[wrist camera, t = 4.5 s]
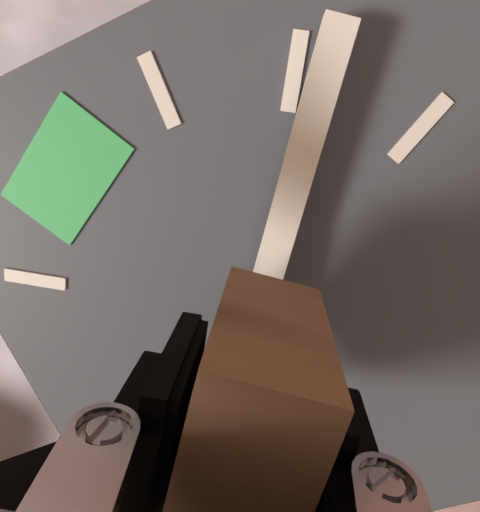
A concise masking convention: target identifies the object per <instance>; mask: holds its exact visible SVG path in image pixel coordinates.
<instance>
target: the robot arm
mask: <svg viewBox="0 0 480 512" xmlns="http://www.w3.org/2000/svg"><path fill="white" fill-rule="evenodd" d="M207 329H208V321H205V320H202V315H200V314H195V313H189V312H182V314H181V316H180V318H179V320H178V322H177V324H176V326H175V328H174V330H173V332H172V334H171V336H170V338H169V340H168V342H167V344H166V345H165V347H164V349H163V351H162V353H157V352H151V351H144V352H143V353H142V355H141V357H140V358H139V360H138V362H137V363H136V365H135V367H134V368H133V370H132V372H131V373H130V375H129V377H128V378H127V380H126V382H125V384H124V385H123V387H122V389H121V390H120V392H119V394H118V395H117V397H116V399H115V400H114V402H103V403H97V404H92V405H90V406H87V407H84V408H82V409H81V410H79V411H78V412H76V413H75V414H74V415H73V416H72V418H71V419H70V420H69V422H68V423H67V425H66V427H65V428H64V430H63V432H62V433H61V435H60V437H59V438H58V440H57V442H54V443H51V444H48V445H45V446H43V447H40V448H37V449H34V450H32V451H29V452H26V453H23V454H20V455H18V456H15V457H12V458H9V459H6V460H4V461H1V462H0V512H162V511H163V507H164V503H165V499H166V495H167V491H168V487H169V483H170V479H171V475H172V471H173V467H174V463H175V459H176V455H177V451H178V447H179V443H180V439H181V436H182V432H183V428H184V424H185V420H186V416H187V412H188V408H189V404H190V400H191V396H192V392H193V388H194V384H195V380H196V376H197V372H198V368H199V365H200V362H201V359H202V356H203V353H204V349H205V342H206V335H207ZM348 390H349V393H350V397H351V400H352V404H353V407H354V411H355V412H354V414H353V417H352V420H351V422H350V425H349V427H348V430H347V432H346V435H345V437H344V440H343V442H342V445H341V447H340V450H339V452H338V455H337V457H336V460H335V462H334V465H333V467H332V470H331V472H330V475H329V477H328V480H327V482H326V485H325V487H324V490H323V493H322V495H321V498H320V500H319V503H318V505H317V508H316V510H315V512H432V509H431V506H430V503H429V500H428V497H427V494H426V491H425V488H424V486H423V484H422V482H421V480H420V478H419V477H418V476H417V475H416V474H415V472H414V471H413V470H412V469H411V468H409V467H408V466H407V465H406V464H404V463H403V462H402V461H400V460H398V459H396V458H394V457H393V456H390V455H387V454H384V453H380V452H379V450H378V447H377V444H376V441H375V437H374V434H373V431H372V428H371V425H370V422H369V419H368V416H367V413H366V410H365V406H364V403H363V400H362V397H361V394H360V392H359V390H357V389H353V388H348Z"/></svg>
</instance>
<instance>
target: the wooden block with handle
mask: <svg viewBox="0 0 480 512" xmlns="http://www.w3.org/2000/svg"><path fill="white" fill-rule="evenodd" d="M360 21H361V18H359V17H355V16H351V15H347V14H343V13H339V12H336V11H332V10H328V9H326V10H325V13H324V15H323V18H322V22H321V25H320V29H319V33H318V36H317V40H316V43H315V47H314V51H313V54H312V58H311V62H310V65H309V69H308V73H307V76H306V80H305V84H304V87H303V91H302V94H301V98H300V102H299V105H298V109H297V113H296V116H295V120H294V124H293V127H292V131H291V135H290V138H289V142H288V145H287V149H286V153H285V156H284V160H283V164H282V167H281V171H280V175H279V178H278V182H277V186H276V189H275V193H274V197H273V200H272V204H271V207H270V211H269V215H268V218H267V222H266V226H265V229H264V233H263V237H262V240H261V244H260V248H259V251H258V255H257V258H256V262H255V266H254V269H253V272H252V271H248V270H244V269H240V268H236V267H233V266H232V267H231V270H230V273H229V276H228V279H227V282H226V285H225V288H224V291H223V294H222V297H221V300H220V304H219V307H218V310H217V313H216V316H215V319H214V322H213V325H212V328H211V331H210V334H209V337H208V340H207V344H206V347H205V350H204V353H203V356H202V359H201V362H200V365H199V368H198V372H197V376H196V380H195V384H194V388H193V392H192V396H191V400H190V404H189V408H188V412H187V416H186V420H185V424H184V428H183V432H182V436H181V439H180V443H179V447H178V451H177V455H176V459H175V463H174V467H173V471H172V475H171V479H170V483H169V487H168V491H167V495H166V499H165V503H164V507H163V511H162V512H315V510H316V508H317V505H318V503H319V500H320V498H321V495H322V493H323V490H324V487H325V485H326V482H327V480H328V477H329V475H330V472H331V470H332V467H333V465H334V462H335V460H336V457H337V455H338V452H339V450H340V447H341V445H342V442H343V440H344V437H345V435H346V432H347V430H348V427H349V425H350V422H351V420H352V417H353V414H354V412H355V411H354V407H353V404H352V400H351V397H350V393H349V390H348V386H347V383H346V379H345V376H344V372H343V369H342V365H341V362H340V358H339V355H338V351H337V348H336V344H335V341H334V337H333V334H332V331H331V327H330V324H329V320H328V317H327V313H326V310H325V306H324V303H323V299H322V296H321V292H320V289H316V288H312V287H309V286H305V285H301V284H297V283H293V282H290V281H286V280H283V278H284V275H285V271H286V268H287V265H288V261H289V258H290V255H291V251H292V248H293V245H294V241H295V238H296V235H297V231H298V228H299V225H300V221H301V218H302V215H303V211H304V208H305V205H306V201H307V198H308V195H309V191H310V188H311V185H312V181H313V178H314V175H315V171H316V168H317V165H318V161H319V158H320V155H321V151H322V148H323V145H324V141H325V138H326V135H327V131H328V128H329V125H330V121H331V118H332V115H333V111H334V108H335V105H336V101H337V98H338V95H339V91H340V88H341V85H342V81H343V78H344V75H345V71H346V68H347V65H348V61H349V58H350V55H351V51H352V48H353V45H354V41H355V38H356V35H357V31H358V28H359V25H360Z"/></svg>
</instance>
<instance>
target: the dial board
mask: <svg viewBox="0 0 480 512" xmlns="http://www.w3.org/2000/svg"><path fill="white" fill-rule="evenodd" d="M326 9H328V10H332V11H336V12H339V13H343V14H347V15H351V16H355V17H359V18H361V21H360V25H359V28H358V31H357V35H356V38H355V41H354V45H353V48H352V51H351V55H350V58H349V61H348V65H347V68H346V71H345V75H344V78H343V81H342V85H341V88H340V91H339V95H338V98H337V101H336V105H335V108H334V111H333V115H332V118H331V121H330V125H329V128H328V131H327V135H326V138H325V141H324V145H323V148H322V151H321V155H320V158H319V161H318V165H317V168H316V171H315V175H314V178H313V181H312V185H311V188H310V191H309V195H308V198H307V201H306V205H305V208H304V211H303V215H302V218H301V221H300V225H299V228H298V231H297V235H296V238H295V241H294V245H293V248H292V251H291V255H290V258H289V261H288V265H287V268H286V271H285V275H284V278H283V280H286V281H290V282H293V283H297V284H301V285H305V286H309V287H312V288H316V289H320V292H321V296H322V299H323V303H324V306H325V310H326V313H327V317H328V320H329V324H330V327H331V331H332V334H333V337H334V341H335V344H336V348H337V351H338V355H339V358H340V362H341V365H342V369H343V372H344V376H345V379H346V383H347V386H348V388H353V389H357V390H359V392H360V394H361V397H362V400H363V403H364V406H365V410H366V413H367V416H368V419H369V422H370V425H371V428H372V431H373V434H374V437H375V441H376V444H377V447H378V450H379V452H380V453H384V454H387V455H390V456H393V457H394V458H396V459H398V460H400V461H402V462H403V463H404V464H406V465H407V466H408V467H409V468H411V469H412V470H413V471H414V472H415V474H416V475H417V476H418V477H419V478H420V480H421V482H422V484H423V486H424V488H425V491H426V494H427V497H428V500H429V503H430V506H431V509H432V511H435V510H439V509H444V508H448V507H453V506H457V505H461V504H466V503H470V502H475V501H479V500H480V0H151V1H149V2H147V3H145V4H143V5H141V6H139V7H137V8H135V9H133V10H131V11H129V12H127V13H125V14H123V15H121V16H119V17H117V18H115V19H113V20H111V21H109V22H107V23H105V24H103V25H101V26H99V27H97V28H95V29H93V30H91V31H89V32H87V33H86V34H84V35H82V36H80V37H78V38H76V39H74V40H72V41H70V42H68V43H66V44H64V45H62V46H60V47H58V48H56V49H54V50H52V51H50V52H48V53H46V54H44V55H42V56H40V57H38V58H36V59H34V60H32V61H30V62H28V63H26V64H24V65H22V66H20V67H18V68H16V69H14V70H12V71H10V72H8V73H6V74H4V75H2V76H0V334H1V336H2V338H3V339H4V341H5V343H6V344H7V346H8V348H9V350H10V351H11V353H12V355H13V356H14V358H15V360H16V361H17V363H18V365H19V366H20V368H21V370H22V371H23V373H24V375H25V376H26V378H27V380H28V381H29V383H30V385H31V386H32V388H33V390H34V391H35V393H36V395H37V396H38V398H39V400H40V401H41V403H42V405H43V406H44V408H45V410H46V412H47V413H48V415H49V417H50V418H51V420H52V422H53V423H54V425H55V427H56V428H57V430H58V432H59V433H60V435H61V433H62V432H63V430H64V428H65V427H66V425H67V423H68V422H69V420H70V419H71V418H72V416H73V415H74V414H75V413H76V412H78V411H79V410H81V409H82V408H84V407H87V406H90V405H92V404H97V403H103V402H114V400H115V399H116V397H117V395H118V394H119V392H120V390H121V389H122V387H123V385H124V384H125V382H126V380H127V378H128V377H129V375H130V373H131V372H132V370H133V368H134V367H135V365H136V363H137V362H138V360H139V358H140V357H141V355H142V353H143V352H144V351H151V352H157V353H162V351H163V349H164V347H165V345H166V344H167V342H168V340H169V338H170V336H171V334H172V332H173V330H174V328H175V326H176V324H177V322H178V320H179V318H180V316H181V314H182V312H189V313H195V314H200V315H202V320H205V321H208V329H207V335H206V342H205V347H206V344H207V340H208V337H209V334H210V331H211V328H212V325H213V322H214V319H215V316H216V313H217V310H218V307H219V304H220V300H221V297H222V294H223V291H224V288H225V285H226V282H227V279H228V276H229V273H230V270H231V267H232V266H233V267H236V268H240V269H244V270H248V271H252V272H253V269H254V266H255V262H256V258H257V255H258V251H259V248H260V244H261V240H262V237H263V233H264V229H265V226H266V222H267V218H268V215H269V211H270V207H271V204H272V200H273V197H274V193H275V189H276V186H277V182H278V178H279V175H280V171H281V167H282V164H283V160H284V156H285V153H286V149H287V145H288V142H289V138H290V135H291V131H292V127H293V124H294V120H295V116H296V113H297V109H298V105H299V102H300V98H301V94H302V91H303V87H304V84H305V80H306V76H307V73H308V69H309V65H310V62H311V58H312V54H313V51H314V47H315V43H316V40H317V36H318V33H319V29H320V25H321V22H322V18H323V15H324V13H325V10H326ZM204 350H205V349H204Z"/></svg>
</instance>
